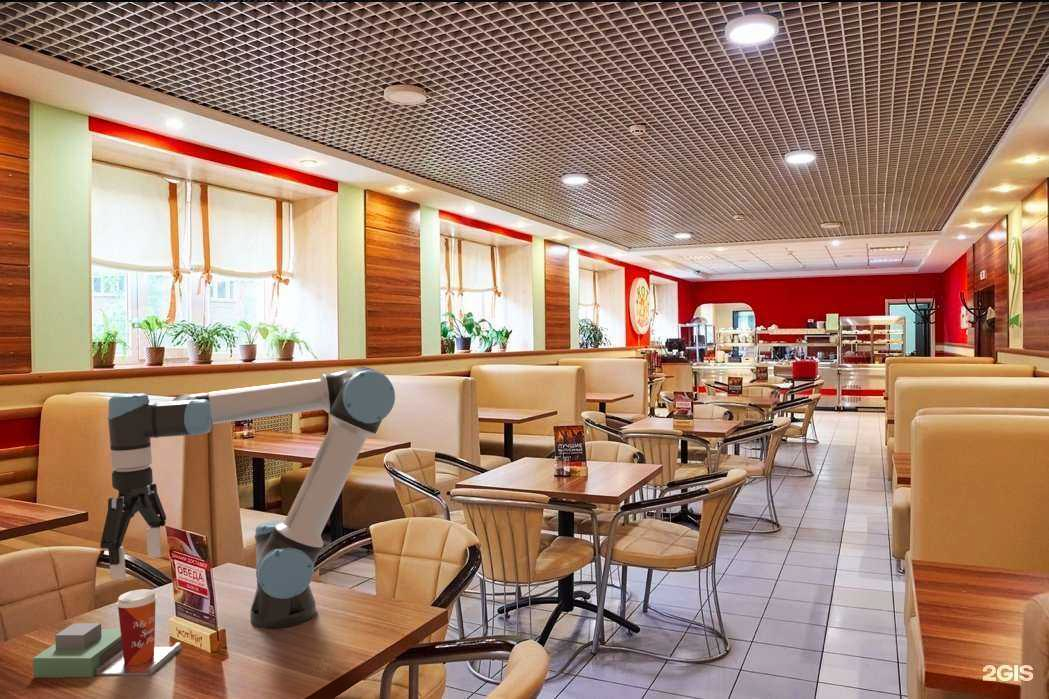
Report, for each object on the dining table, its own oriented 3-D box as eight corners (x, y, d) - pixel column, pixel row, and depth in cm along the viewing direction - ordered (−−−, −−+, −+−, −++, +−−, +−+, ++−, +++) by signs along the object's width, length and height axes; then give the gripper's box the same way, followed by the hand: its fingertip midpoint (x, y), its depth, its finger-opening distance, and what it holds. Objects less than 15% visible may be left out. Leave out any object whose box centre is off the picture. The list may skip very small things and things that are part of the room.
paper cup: (142, 669, 151) (139, 602, 151) (109, 666, 153) (107, 600, 152) (167, 652, 159) (165, 588, 158) (136, 650, 161) (134, 586, 160)
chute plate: (180, 648, 162) (180, 642, 162) (150, 675, 150) (150, 668, 150) (129, 648, 162) (129, 642, 162) (95, 675, 150) (95, 668, 150)
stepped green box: (132, 646, 163) (130, 615, 163) (92, 677, 149) (91, 643, 149) (78, 646, 164) (77, 615, 163) (33, 677, 150) (32, 643, 149)
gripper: (147, 456, 167) (152, 548, 168) (75, 481, 142) (82, 589, 143) (179, 455, 166) (184, 548, 167) (113, 480, 142) (119, 589, 143)
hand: (137, 567), depth 155 cm, fingers open, 13 cm apart
